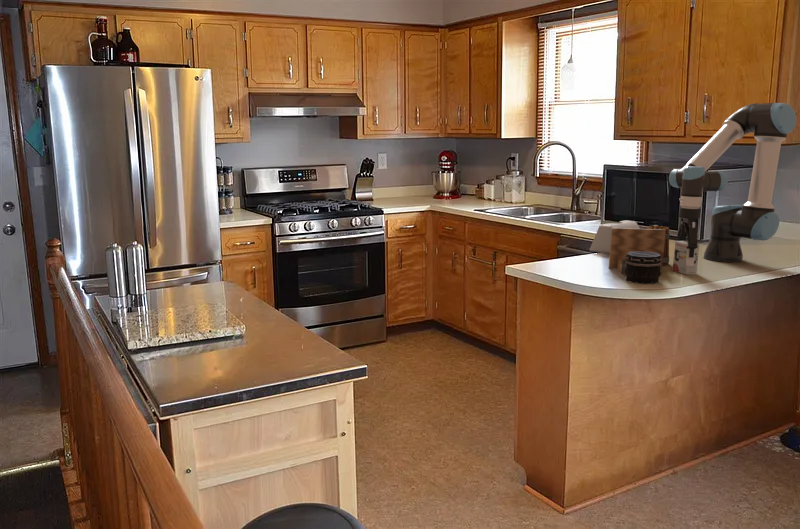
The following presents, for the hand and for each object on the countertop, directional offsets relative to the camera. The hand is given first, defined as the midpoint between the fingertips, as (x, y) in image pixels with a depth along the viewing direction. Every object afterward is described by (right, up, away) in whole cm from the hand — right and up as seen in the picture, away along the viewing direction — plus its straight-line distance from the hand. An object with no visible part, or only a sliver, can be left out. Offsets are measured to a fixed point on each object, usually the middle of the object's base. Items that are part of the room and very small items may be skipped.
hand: (684, 262), depth 275 cm
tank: (-11, +5, +47) cm, 49 cm away
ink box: (0, -4, +1) cm, 4 cm away
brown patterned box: (-18, -4, 0) cm, 18 cm away
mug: (-4, 0, +20) cm, 21 cm away
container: (-22, -7, -15) cm, 27 cm away
